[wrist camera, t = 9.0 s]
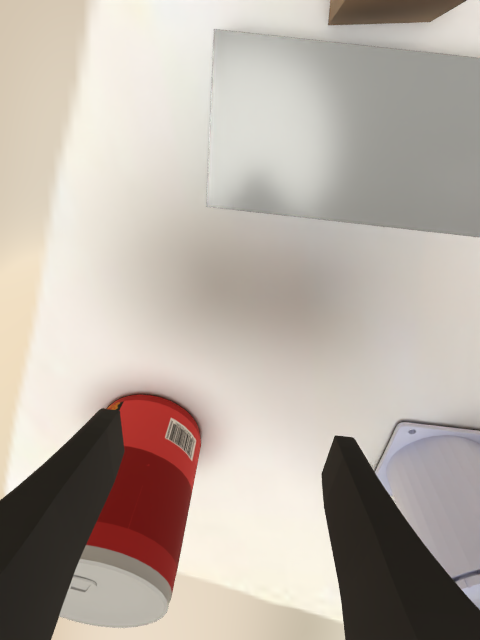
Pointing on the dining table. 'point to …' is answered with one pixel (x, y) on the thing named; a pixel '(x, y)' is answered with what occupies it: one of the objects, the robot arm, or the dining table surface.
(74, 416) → the dining table surface
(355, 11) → the walnut block
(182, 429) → the canned food
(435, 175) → the gray rectangular block
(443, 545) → the robot arm
